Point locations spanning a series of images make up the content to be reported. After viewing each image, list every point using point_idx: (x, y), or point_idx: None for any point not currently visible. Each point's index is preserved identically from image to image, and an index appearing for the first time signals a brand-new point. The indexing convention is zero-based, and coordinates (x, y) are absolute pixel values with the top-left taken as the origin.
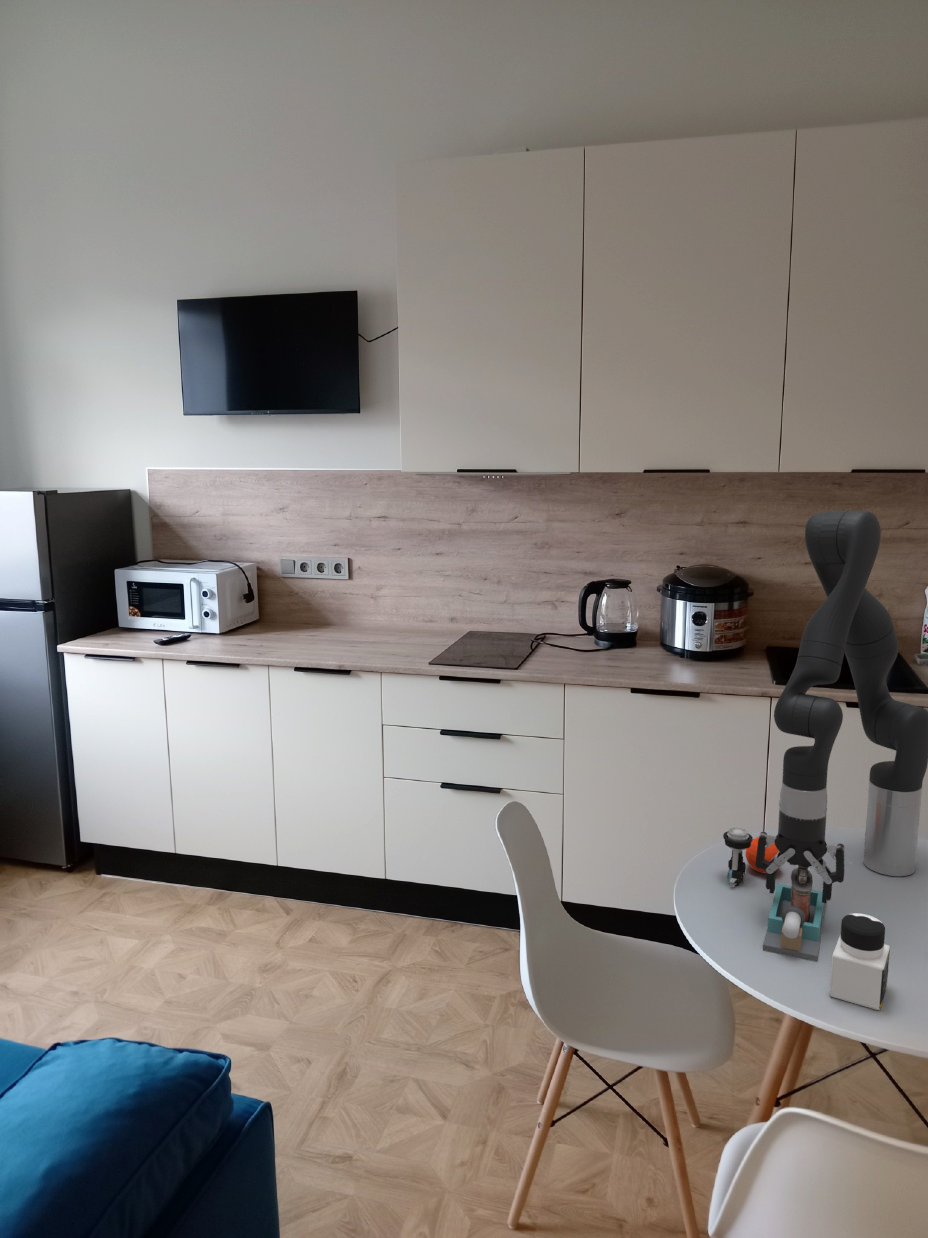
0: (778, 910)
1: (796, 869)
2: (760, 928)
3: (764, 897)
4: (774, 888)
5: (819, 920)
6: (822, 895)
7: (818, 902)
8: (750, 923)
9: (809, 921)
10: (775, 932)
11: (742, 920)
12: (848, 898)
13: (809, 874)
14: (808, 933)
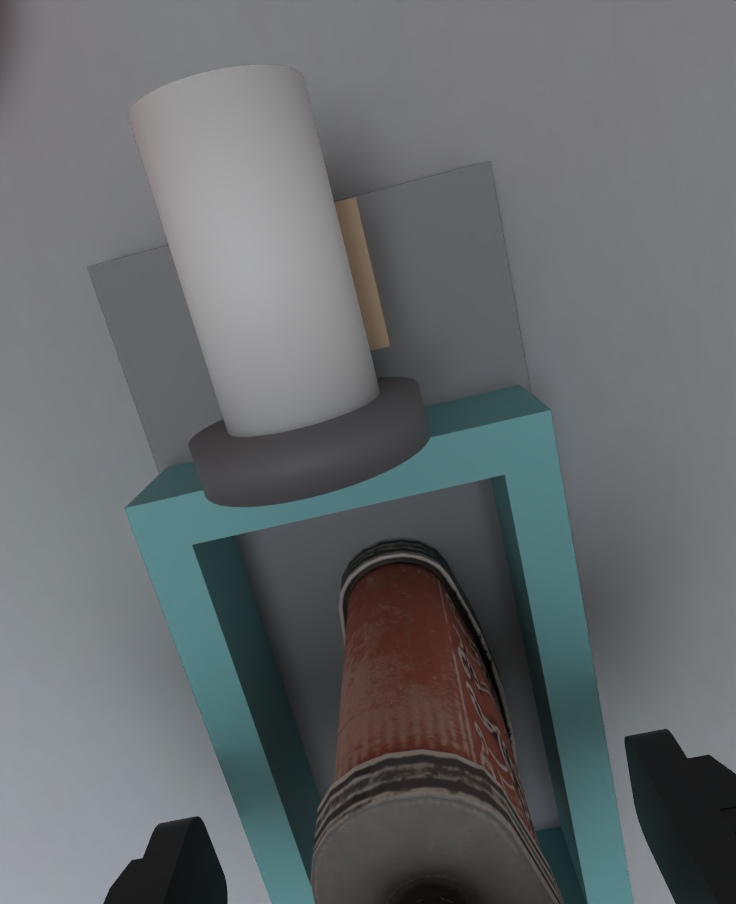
0: (286, 737)
1: (321, 851)
2: None
3: (86, 450)
4: (203, 869)
5: (622, 866)
6: (675, 896)
7: (549, 627)
8: (178, 795)
9: (515, 748)
10: None
11: (125, 791)
12: (647, 33)
13: (516, 877)
14: None
